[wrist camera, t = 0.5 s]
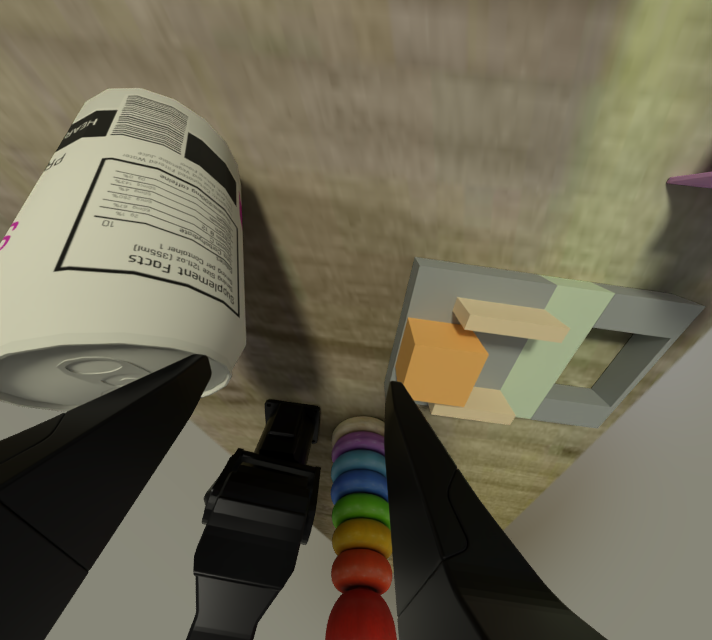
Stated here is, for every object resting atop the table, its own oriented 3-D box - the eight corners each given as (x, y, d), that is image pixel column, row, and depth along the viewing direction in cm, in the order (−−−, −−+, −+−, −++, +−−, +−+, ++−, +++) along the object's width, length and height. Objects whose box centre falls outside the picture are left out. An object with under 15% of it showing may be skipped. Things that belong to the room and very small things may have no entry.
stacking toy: (322, 441, 33) (275, 694, 17) (350, 403, 30) (323, 678, 13) (375, 460, 35) (379, 712, 18) (407, 427, 31) (447, 702, 15)
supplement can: (254, 210, 21) (267, 388, 14) (143, 221, 19) (94, 425, 12) (212, 80, 14) (193, 310, 7) (32, 83, 12) (-226, 375, 5)
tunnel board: (580, 409, 28) (623, 456, 23) (384, 382, 28) (387, 424, 23) (671, 293, 21) (758, 326, 17) (414, 256, 21) (427, 279, 16)
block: (450, 373, 24) (464, 407, 20) (395, 366, 23) (399, 398, 20) (469, 325, 21) (488, 354, 18) (407, 317, 21) (415, 344, 17)
